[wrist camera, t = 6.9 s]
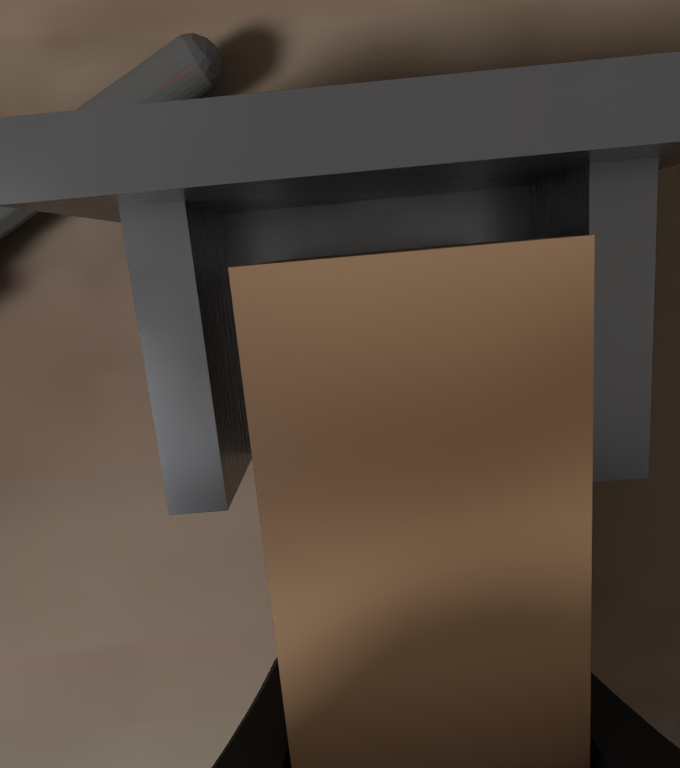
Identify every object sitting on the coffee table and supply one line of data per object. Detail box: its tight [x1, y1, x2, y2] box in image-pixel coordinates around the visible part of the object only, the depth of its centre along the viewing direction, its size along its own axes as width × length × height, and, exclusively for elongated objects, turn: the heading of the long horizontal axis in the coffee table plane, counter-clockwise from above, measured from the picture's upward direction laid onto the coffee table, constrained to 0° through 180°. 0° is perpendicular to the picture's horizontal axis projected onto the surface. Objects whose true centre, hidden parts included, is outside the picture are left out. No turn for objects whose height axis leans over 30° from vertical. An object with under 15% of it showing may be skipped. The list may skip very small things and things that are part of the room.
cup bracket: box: [0, 51, 680, 515], centre depth 10 cm, size 6×10×5 cm, turn 95°
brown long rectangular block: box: [228, 235, 595, 768], centre depth 10 cm, size 16×4×5 cm, turn 5°
